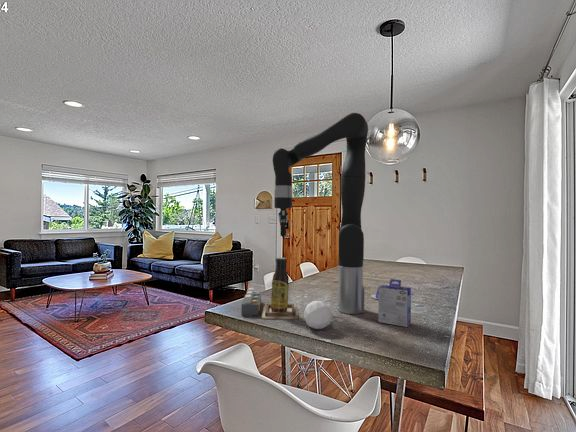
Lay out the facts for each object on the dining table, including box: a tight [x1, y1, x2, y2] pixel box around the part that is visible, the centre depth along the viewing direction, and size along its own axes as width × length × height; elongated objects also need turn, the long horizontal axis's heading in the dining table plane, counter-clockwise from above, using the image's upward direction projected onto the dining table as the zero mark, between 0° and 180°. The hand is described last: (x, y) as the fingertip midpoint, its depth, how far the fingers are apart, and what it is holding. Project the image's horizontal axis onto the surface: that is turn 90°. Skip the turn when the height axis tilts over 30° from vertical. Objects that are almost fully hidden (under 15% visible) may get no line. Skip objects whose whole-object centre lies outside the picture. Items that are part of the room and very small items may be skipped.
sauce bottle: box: [270, 257, 290, 312], centre depth 118 cm, size 6×6×20 cm
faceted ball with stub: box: [303, 300, 333, 330], centre depth 103 cm, size 9×9×12 cm
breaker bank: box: [240, 287, 262, 316], centre depth 123 cm, size 6×18×6 cm, turn 1°
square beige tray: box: [261, 303, 300, 320], centre depth 117 cm, size 13×14×2 cm
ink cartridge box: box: [377, 278, 412, 328], centre depth 107 cm, size 10×6×14 cm, turn 58°
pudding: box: [370, 285, 381, 300], centre depth 141 cm, size 12×12×5 cm
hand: (283, 235), depth 133 cm, fingers open, 8 cm apart
